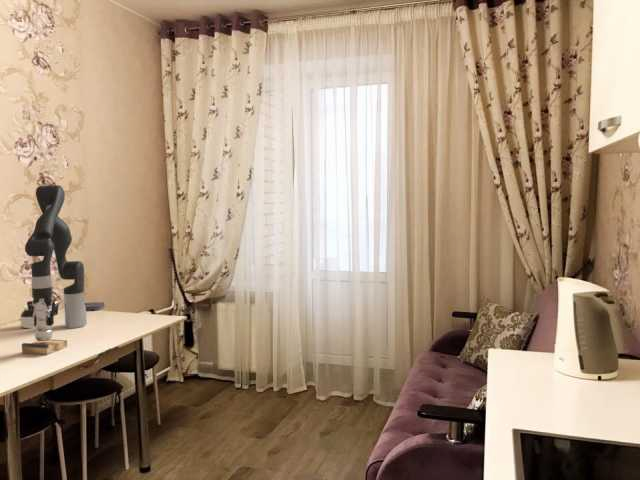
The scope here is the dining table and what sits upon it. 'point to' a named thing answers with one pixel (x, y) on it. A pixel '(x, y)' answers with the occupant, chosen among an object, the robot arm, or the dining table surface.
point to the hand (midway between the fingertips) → (44, 325)
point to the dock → (43, 347)
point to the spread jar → (27, 319)
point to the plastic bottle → (42, 322)
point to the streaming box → (94, 306)
